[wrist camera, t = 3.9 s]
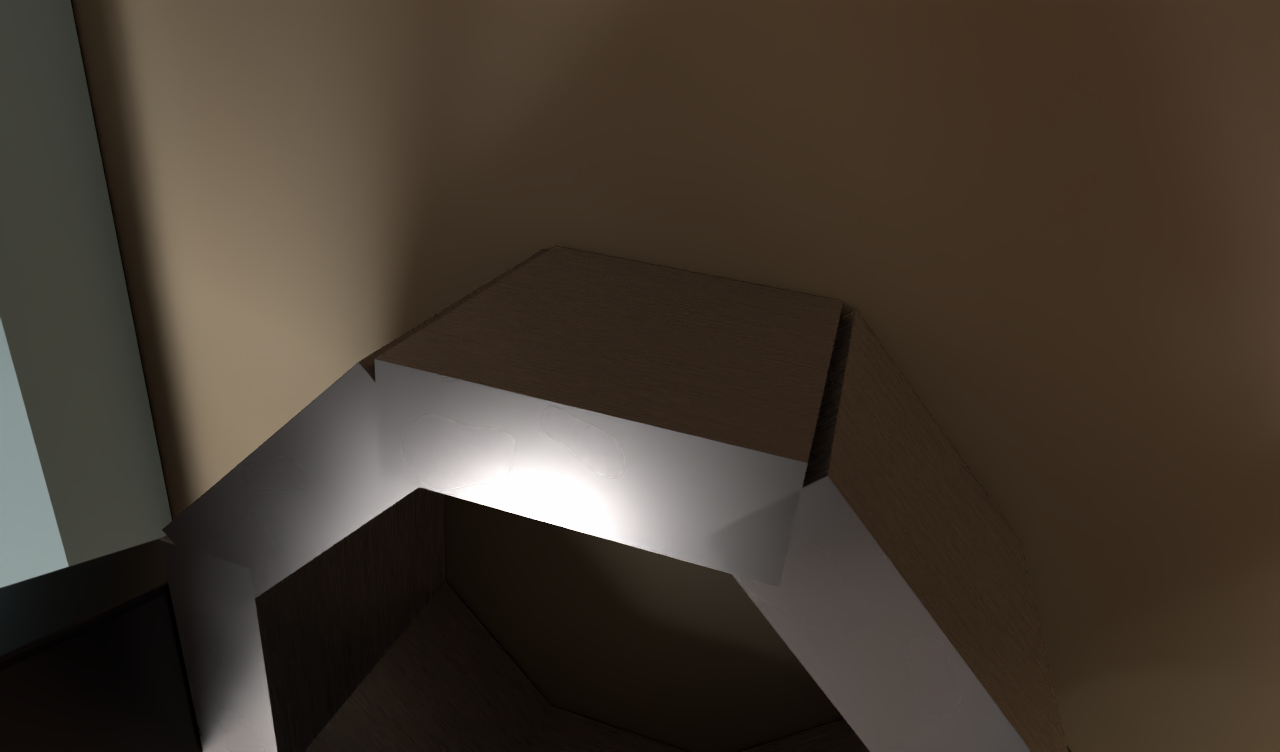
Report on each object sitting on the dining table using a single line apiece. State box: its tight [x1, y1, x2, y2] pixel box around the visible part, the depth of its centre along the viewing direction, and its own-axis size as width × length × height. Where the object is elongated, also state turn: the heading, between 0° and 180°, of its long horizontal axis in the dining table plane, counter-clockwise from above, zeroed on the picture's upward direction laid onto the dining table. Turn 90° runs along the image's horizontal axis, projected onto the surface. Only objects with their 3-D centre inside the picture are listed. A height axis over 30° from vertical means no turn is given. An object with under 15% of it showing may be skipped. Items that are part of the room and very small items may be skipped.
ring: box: [159, 246, 1068, 752], centre depth 8 cm, size 7×7×3 cm
